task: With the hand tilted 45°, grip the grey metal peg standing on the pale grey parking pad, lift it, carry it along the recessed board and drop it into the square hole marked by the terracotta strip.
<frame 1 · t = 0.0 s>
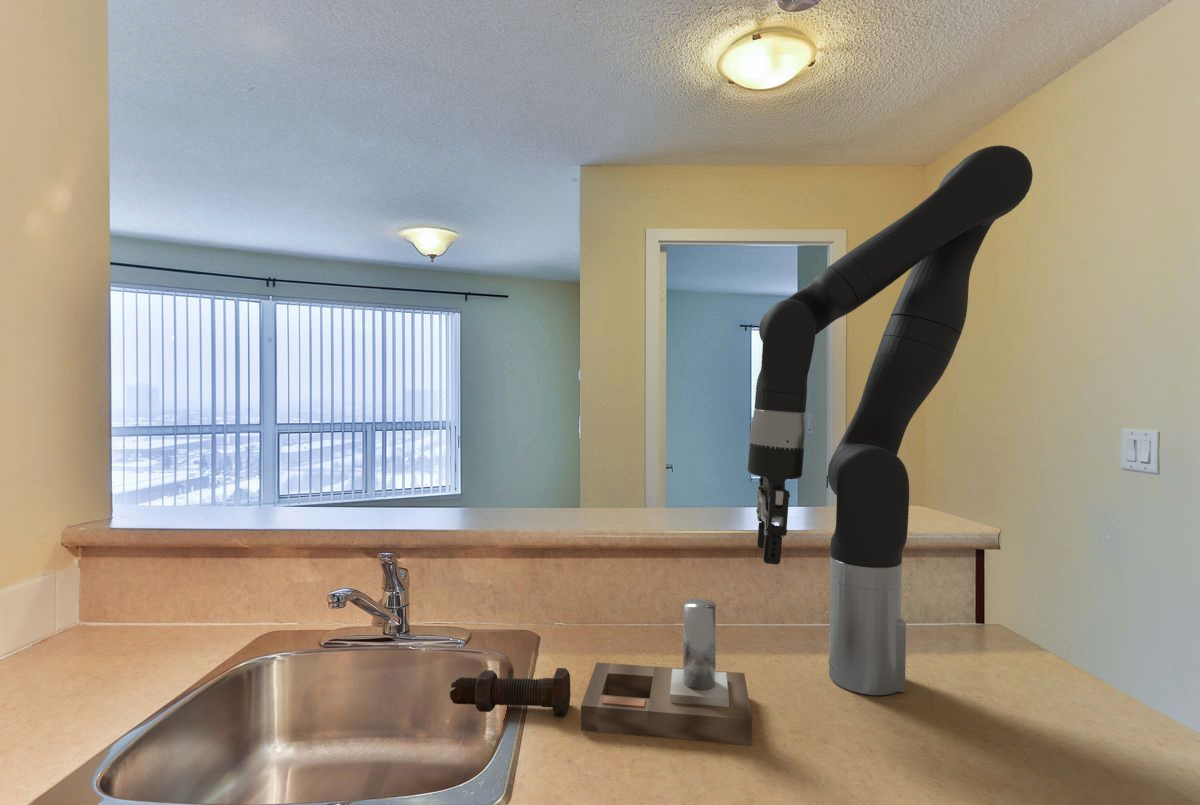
hand: (767, 555, 90), 17 cm above the countertop, tool pointing down, fingers open, 8 cm apart
bolt: (510, 710, 80), on the countertop
recessed board: (666, 711, 79), on the countertop
peg: (699, 682, 79), point 4 cm above the countertop, touching recessed board
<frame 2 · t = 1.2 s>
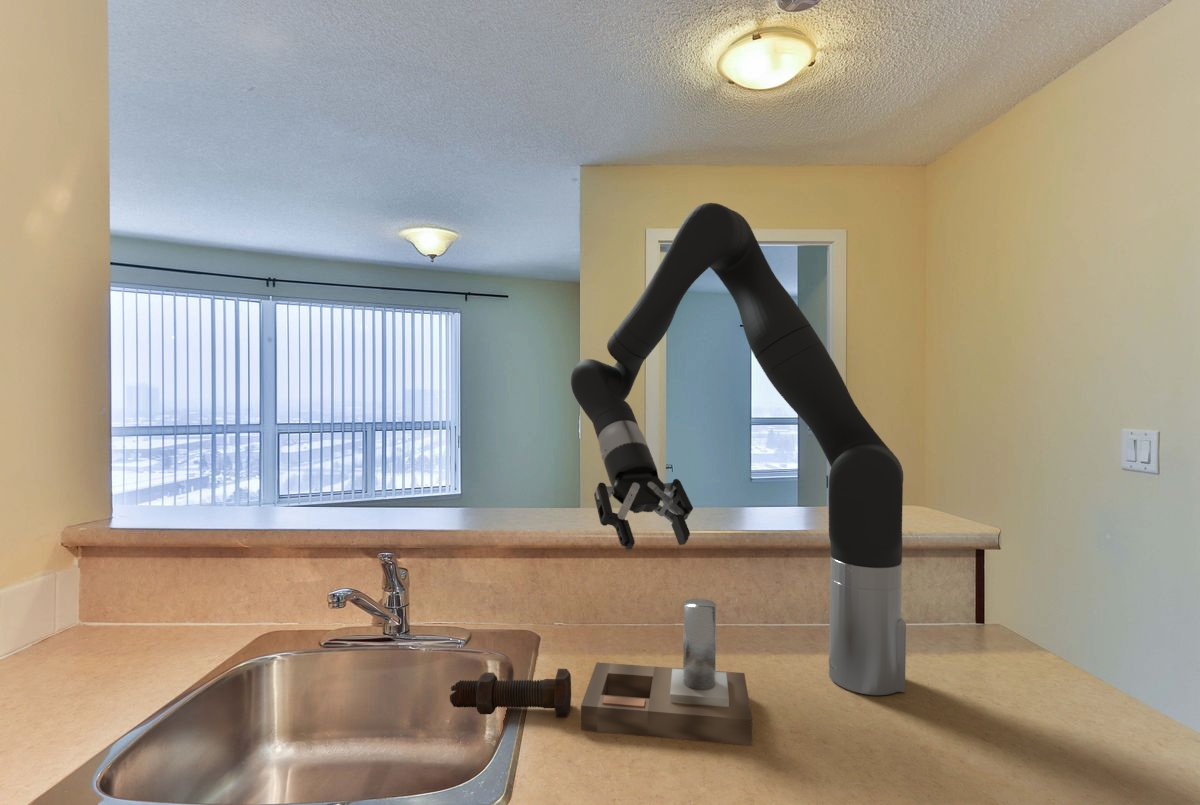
hand: (658, 544, 89), 19 cm above the countertop, tool tilted 45°, fingers open, 8 cm apart
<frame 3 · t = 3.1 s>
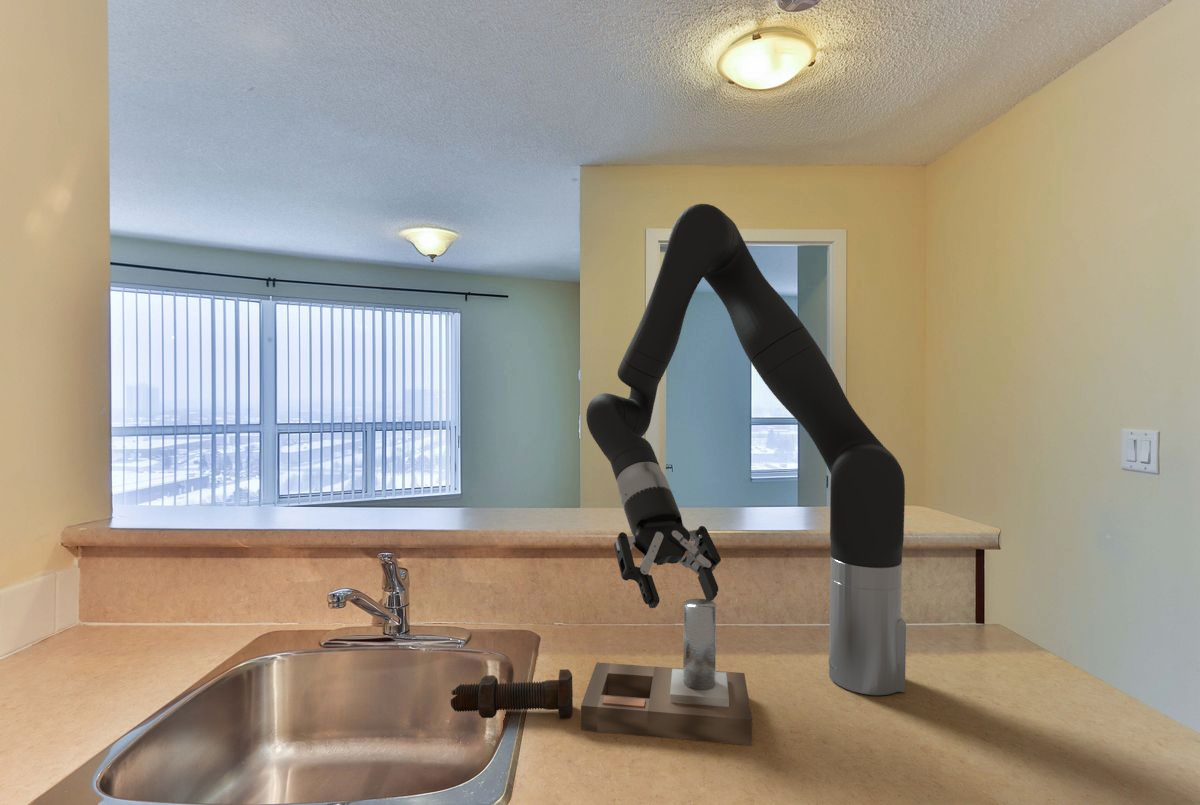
hand: (684, 601, 82), 13 cm above the countertop, tool tilted 45°, fingers open, 8 cm apart
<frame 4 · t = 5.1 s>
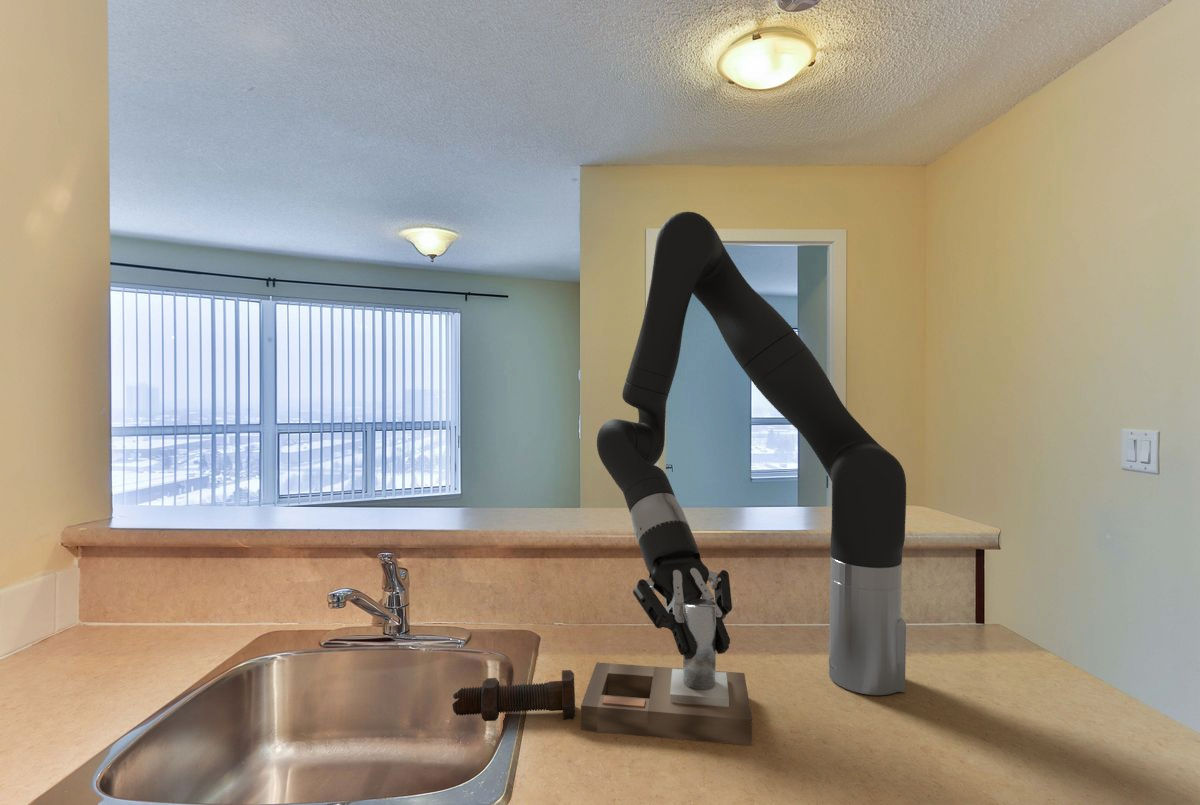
hand: (707, 653, 77), 9 cm above the countertop, tool tilted 45°, fingers closed on peg, 4 cm apart
peg: (699, 682, 79), point 4 cm above the countertop, touching gripper, recessed board
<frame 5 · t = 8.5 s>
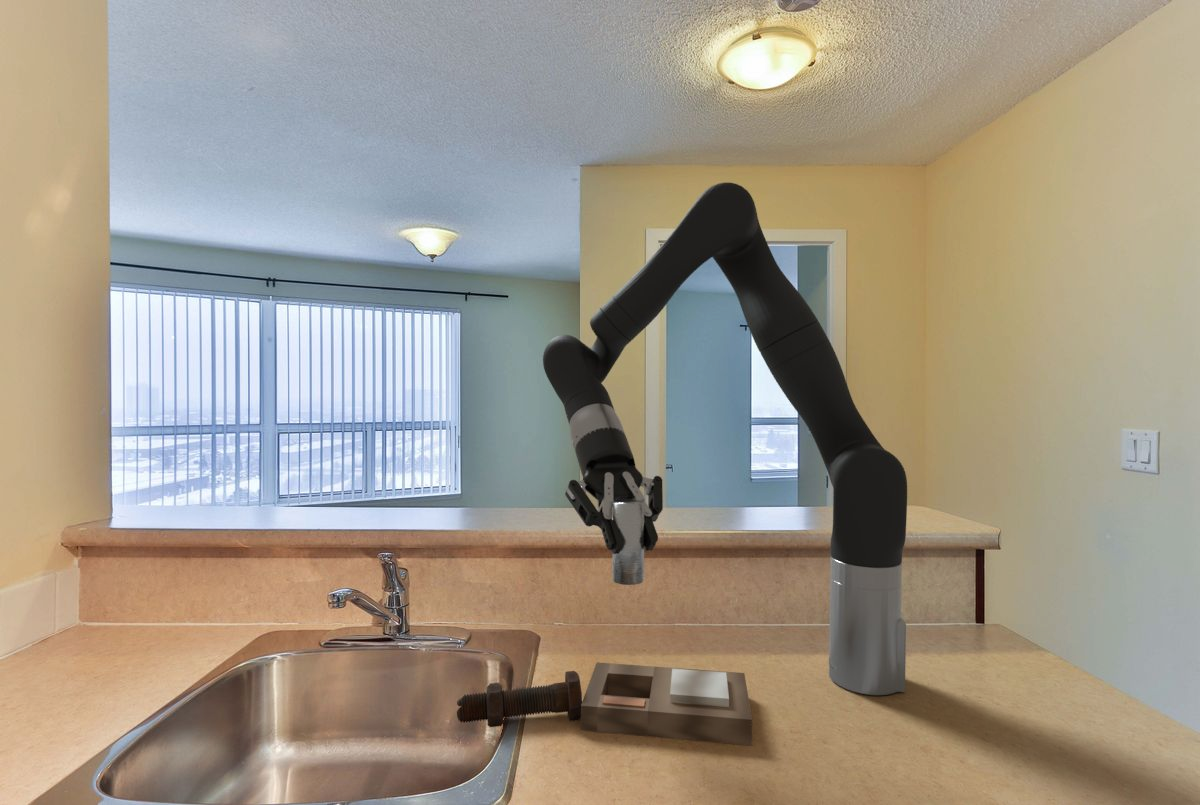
hand: (634, 548, 78), 21 cm above the countertop, tool tilted 45°, fingers closed on peg, 4 cm apart
bolt: (519, 721, 78), on the countertop
peg: (628, 580, 80), point 17 cm above the countertop, touching gripper
when the fingers open (7 cm above the countertop, at t = 11.8 s): peg drops 3 cm, resting in recessed board.
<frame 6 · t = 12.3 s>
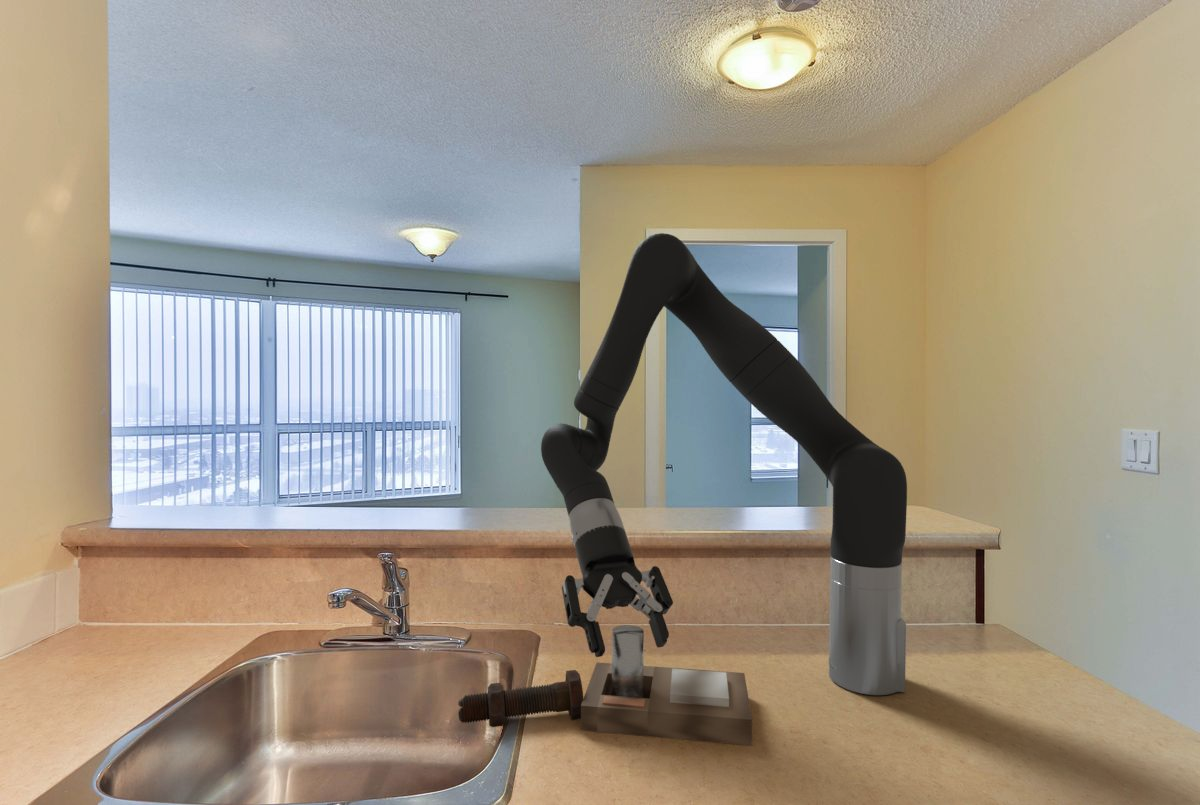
hand: (632, 649, 79), 8 cm above the countertop, tool tilted 45°, fingers open, 8 cm apart
peg: (627, 708, 80), resting in recessed board
everything else where it was.
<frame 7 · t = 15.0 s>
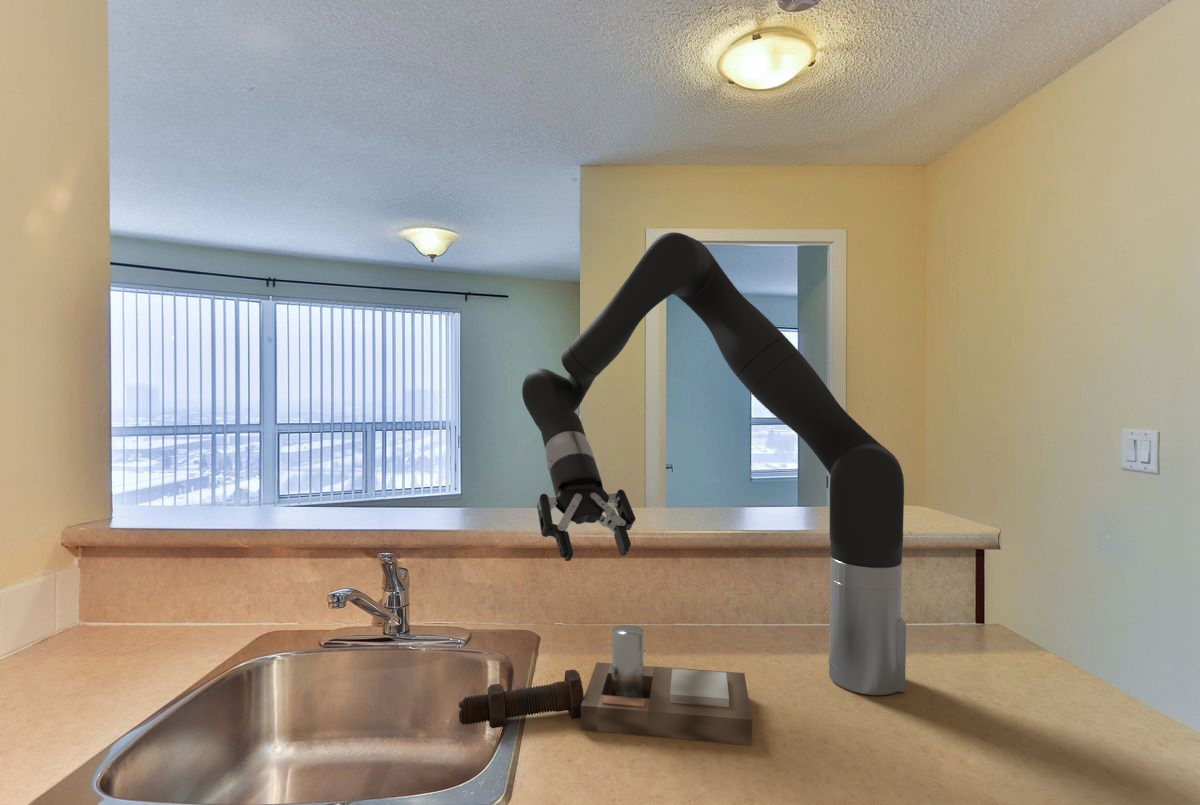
hand: (597, 555, 90), 17 cm above the countertop, tool tilted 45°, fingers open, 8 cm apart
nothing on the countertop moved.
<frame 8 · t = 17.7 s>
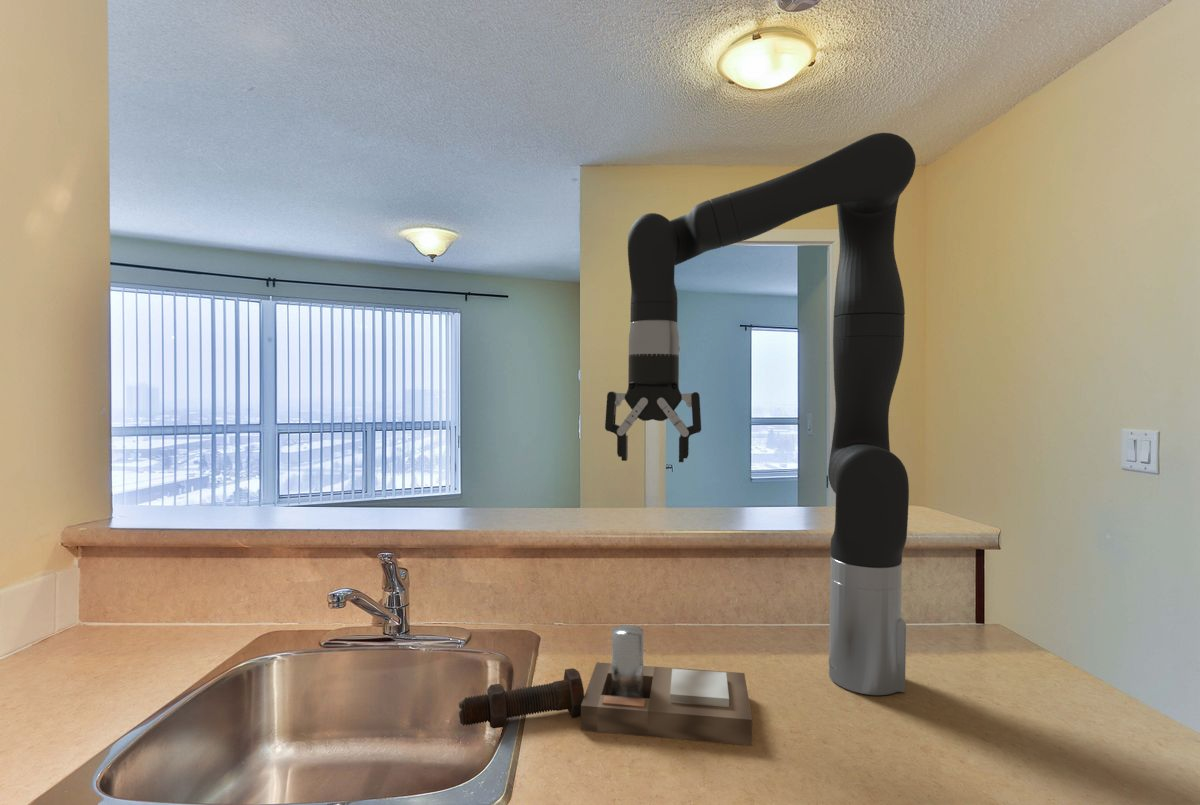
hand: (652, 461, 94), 30 cm above the countertop, tool pointing down, fingers open, 8 cm apart
nothing on the countertop moved.
at the end: peg 0.1 cm from the target spot on the recessed board, point 0.0 cm above the recessed board's base; peg tilted 0°; the gripper is holding nothing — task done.
